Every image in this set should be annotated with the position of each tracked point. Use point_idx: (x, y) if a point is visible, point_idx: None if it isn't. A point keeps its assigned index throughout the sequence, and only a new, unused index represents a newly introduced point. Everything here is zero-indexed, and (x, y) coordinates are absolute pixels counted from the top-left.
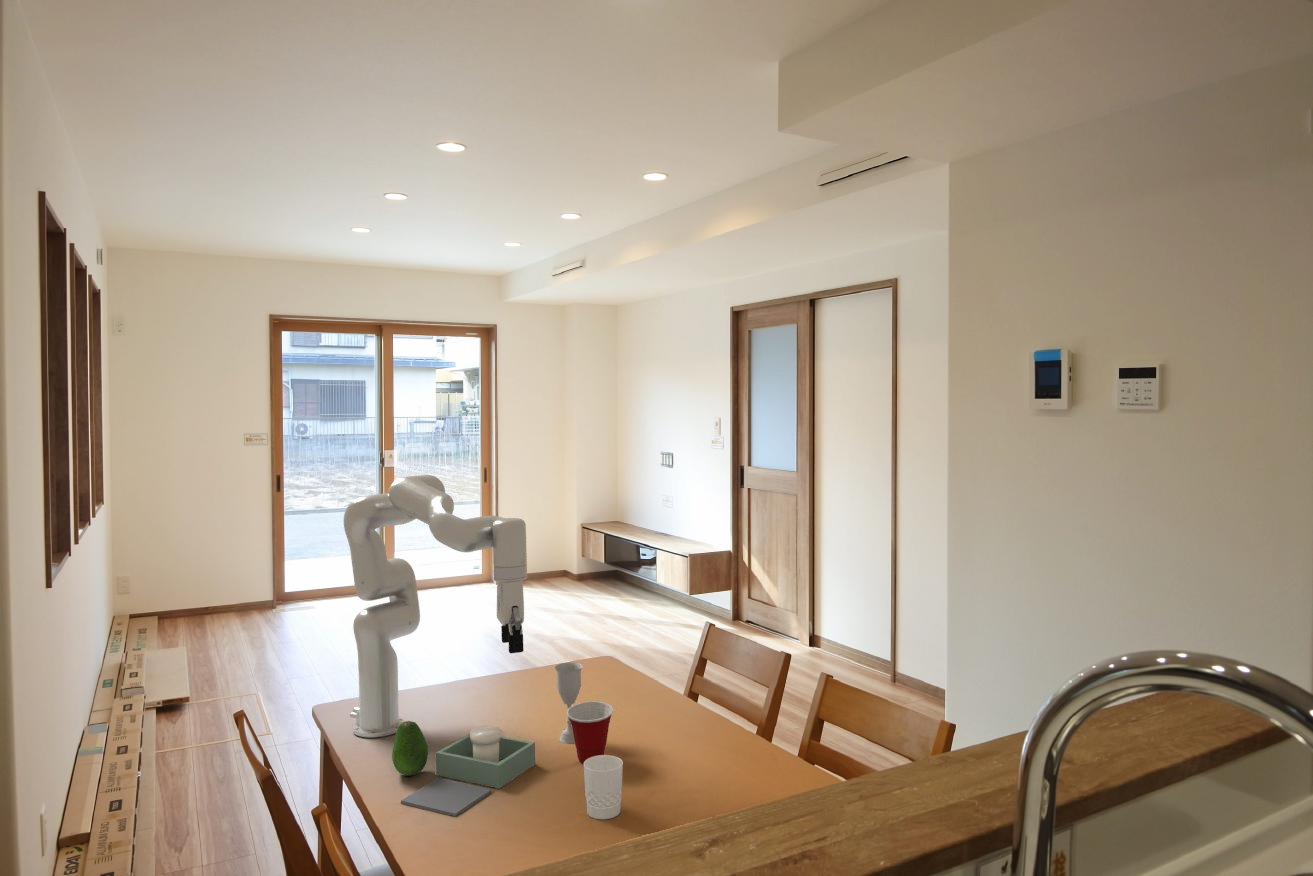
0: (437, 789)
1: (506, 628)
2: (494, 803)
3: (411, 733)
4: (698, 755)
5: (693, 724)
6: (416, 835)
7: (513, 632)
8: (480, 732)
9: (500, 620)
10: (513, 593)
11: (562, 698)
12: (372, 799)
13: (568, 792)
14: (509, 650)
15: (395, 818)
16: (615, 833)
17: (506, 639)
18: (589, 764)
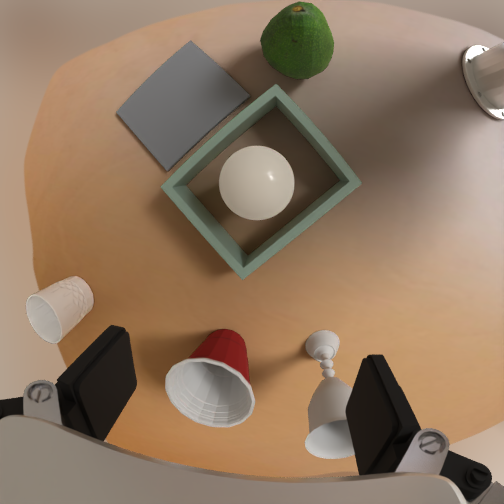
0: (203, 89)
1: (377, 436)
2: (133, 169)
3: (276, 23)
4: (192, 435)
5: (282, 462)
6: (98, 69)
7: (13, 398)
8: (257, 170)
9: (103, 472)
10: None
11: (328, 381)
12: (225, 10)
13: (131, 277)
14: (105, 331)
15: (151, 39)
16: (44, 284)
17: (362, 384)
18: (58, 307)
